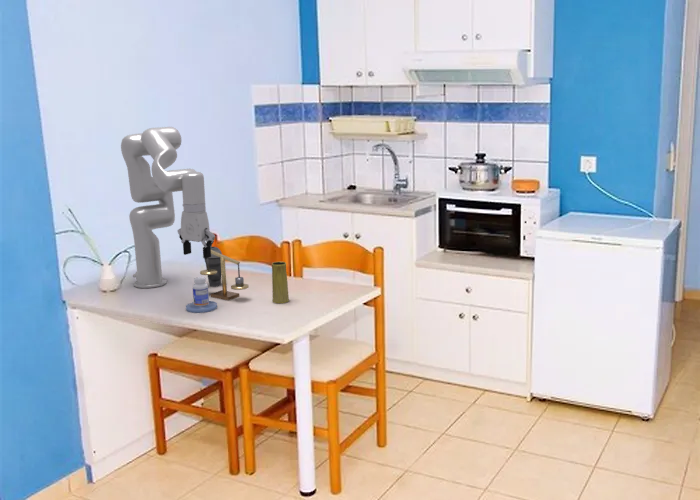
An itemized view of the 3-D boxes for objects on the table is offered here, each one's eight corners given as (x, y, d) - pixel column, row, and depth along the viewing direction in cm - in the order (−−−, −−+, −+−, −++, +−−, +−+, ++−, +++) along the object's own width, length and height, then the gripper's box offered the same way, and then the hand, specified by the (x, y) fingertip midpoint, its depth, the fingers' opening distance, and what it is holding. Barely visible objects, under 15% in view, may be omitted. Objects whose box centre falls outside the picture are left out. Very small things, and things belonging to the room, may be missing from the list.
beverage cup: (220, 288, 299) (217, 237, 294) (202, 287, 300) (199, 237, 296) (227, 283, 306) (223, 233, 301) (209, 282, 307) (206, 233, 303)
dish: (179, 310, 272) (179, 306, 271) (201, 302, 281) (201, 298, 280) (201, 314, 266) (201, 311, 265) (223, 306, 274) (223, 303, 274)
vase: (276, 304, 275) (274, 266, 272) (269, 300, 280) (267, 262, 277) (291, 302, 278) (290, 263, 275) (285, 298, 283) (283, 260, 280)
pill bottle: (194, 302, 275) (192, 276, 273) (210, 302, 276) (208, 275, 273) (192, 307, 270) (190, 280, 268) (208, 306, 270) (206, 279, 268)
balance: (197, 294, 290) (194, 249, 286) (210, 290, 295) (207, 246, 292) (241, 303, 278) (238, 256, 274) (252, 298, 283) (250, 252, 279)
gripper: (168, 207, 267) (172, 254, 271) (204, 212, 257) (207, 261, 261) (184, 203, 273) (187, 250, 277) (220, 208, 263) (222, 256, 267)
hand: (197, 255), depth 269 cm, fingers open, 9 cm apart
